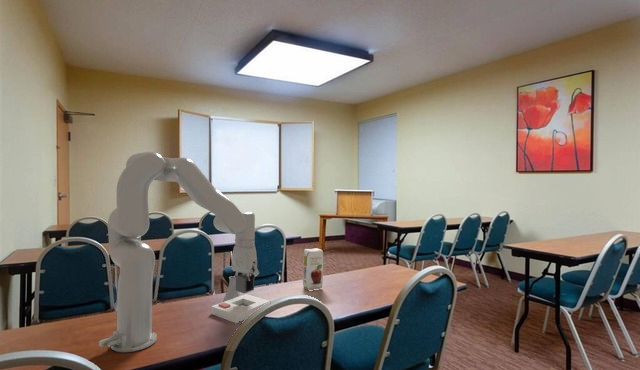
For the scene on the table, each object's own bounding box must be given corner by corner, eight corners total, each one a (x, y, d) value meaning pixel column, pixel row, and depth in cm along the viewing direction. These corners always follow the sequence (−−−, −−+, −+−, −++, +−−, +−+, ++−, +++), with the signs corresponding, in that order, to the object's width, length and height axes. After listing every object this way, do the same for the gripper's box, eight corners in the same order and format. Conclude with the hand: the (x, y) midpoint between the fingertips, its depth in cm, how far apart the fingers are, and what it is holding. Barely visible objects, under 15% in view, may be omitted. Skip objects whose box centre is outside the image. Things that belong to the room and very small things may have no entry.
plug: (244, 293, 131) (244, 272, 131) (235, 290, 134) (235, 270, 134) (253, 290, 135) (254, 270, 135) (245, 287, 138) (245, 268, 138)
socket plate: (236, 323, 122) (236, 313, 122) (211, 313, 130) (211, 304, 130) (270, 308, 137) (270, 299, 137) (245, 300, 145) (246, 292, 145)
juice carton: (301, 287, 164) (302, 248, 164) (316, 285, 168) (317, 247, 168) (308, 292, 158) (309, 251, 158) (324, 289, 162) (325, 250, 162)
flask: (220, 301, 144) (220, 277, 143) (231, 296, 150) (232, 274, 150) (233, 304, 140) (233, 280, 140) (244, 299, 147) (245, 276, 146)
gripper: (223, 242, 136) (222, 287, 136) (253, 247, 126) (253, 295, 127) (237, 239, 142) (237, 282, 142) (267, 244, 132) (267, 290, 133)
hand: (244, 288), depth 134 cm, fingers closed on plug, 5 cm apart
